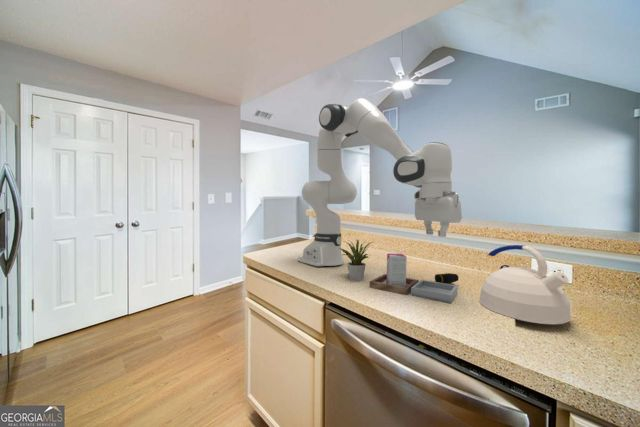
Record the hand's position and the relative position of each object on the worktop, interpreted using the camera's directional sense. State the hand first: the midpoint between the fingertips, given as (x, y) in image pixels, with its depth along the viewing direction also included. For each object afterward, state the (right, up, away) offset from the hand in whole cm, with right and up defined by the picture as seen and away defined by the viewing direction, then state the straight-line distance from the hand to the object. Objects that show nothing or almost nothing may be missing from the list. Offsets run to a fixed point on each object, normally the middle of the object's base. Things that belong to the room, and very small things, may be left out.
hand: (435, 235), depth 83 cm
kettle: (+20, -20, -11) cm, 30 cm away
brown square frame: (-11, -19, +9) cm, 24 cm away
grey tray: (0, -19, +1) cm, 19 cm away
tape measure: (+12, -19, +10) cm, 25 cm away
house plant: (-22, -19, +18) cm, 34 cm away
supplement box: (-10, -19, +9) cm, 24 cm away
